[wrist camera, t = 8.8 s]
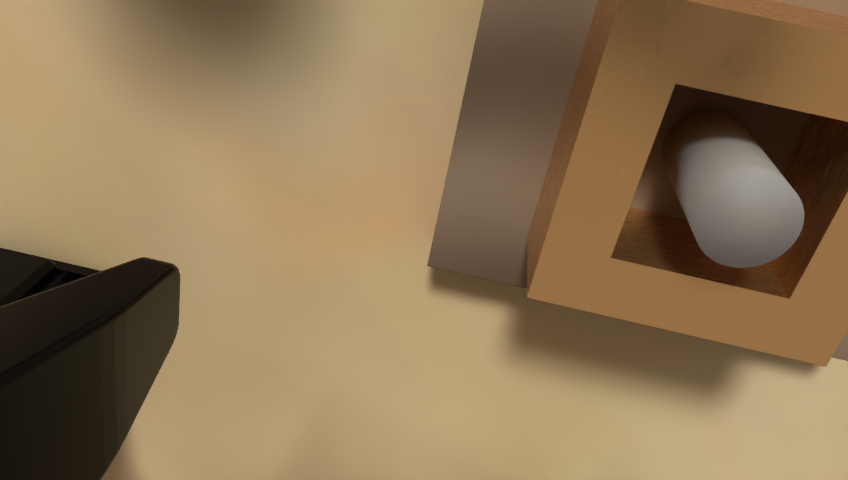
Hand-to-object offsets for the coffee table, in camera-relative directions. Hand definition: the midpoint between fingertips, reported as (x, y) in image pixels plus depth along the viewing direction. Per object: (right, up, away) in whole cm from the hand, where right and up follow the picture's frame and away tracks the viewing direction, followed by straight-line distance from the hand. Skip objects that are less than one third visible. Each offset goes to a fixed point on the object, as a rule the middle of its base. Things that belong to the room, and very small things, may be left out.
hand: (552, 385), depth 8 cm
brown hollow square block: (+5, +4, +9) cm, 11 cm away
